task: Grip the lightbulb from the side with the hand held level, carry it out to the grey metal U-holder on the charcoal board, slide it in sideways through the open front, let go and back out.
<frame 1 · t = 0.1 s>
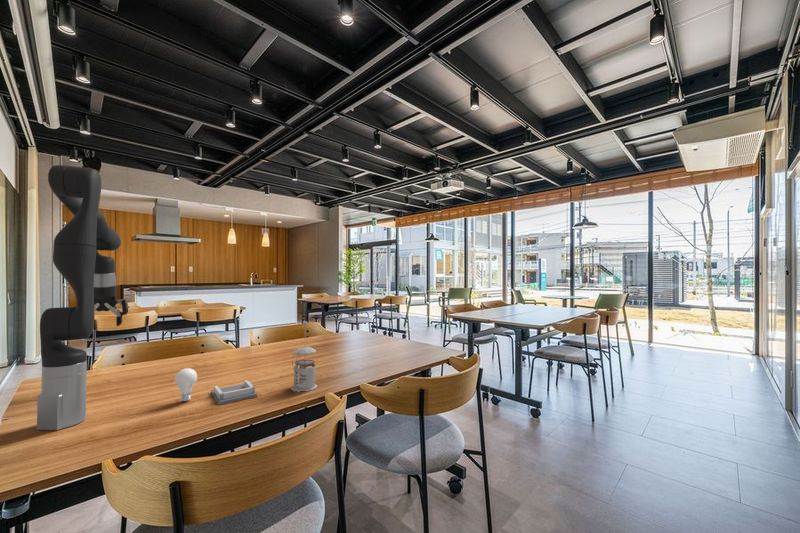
hand: (104, 326, 130), 23 cm above the table, tool pointing down, fingers open, 8 cm apart
french press: (303, 387, 129), on the table
lightbulb: (185, 401, 115), on the table
u holder: (233, 394, 121), on the table
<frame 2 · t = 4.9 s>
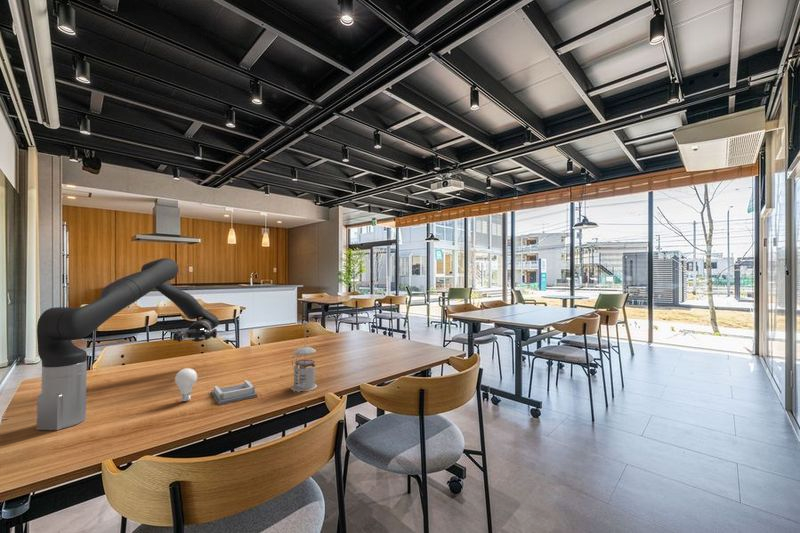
hand: (192, 338, 125), 19 cm above the table, tool horizontal, fingers open, 8 cm apart
nothing on the table moved.
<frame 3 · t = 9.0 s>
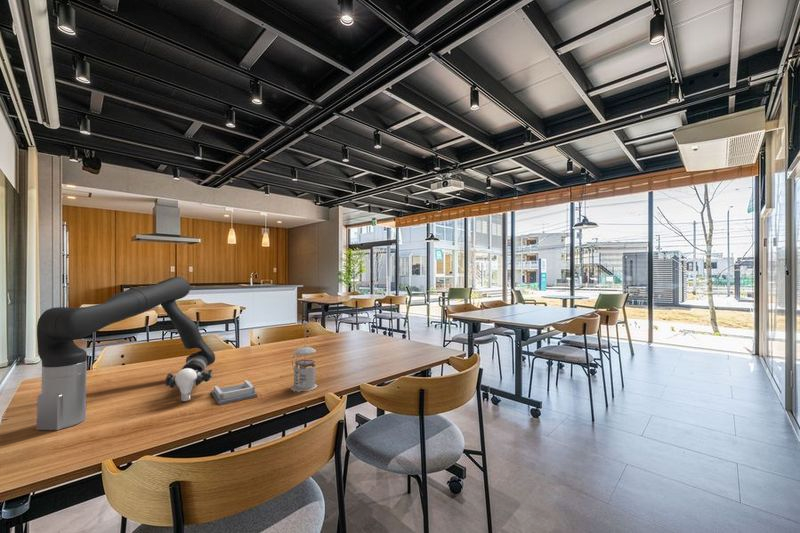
hand: (184, 384, 113), 7 cm above the table, tool horizontal, fingers closed on lightbulb, 6 cm apart
lightbulb: (185, 401, 115), on the table, touching gripper
everything else where it was.
when the fingers open (8 cm above the table, at t = 16.8 s): lightbulb stays where it is, resting on u holder.
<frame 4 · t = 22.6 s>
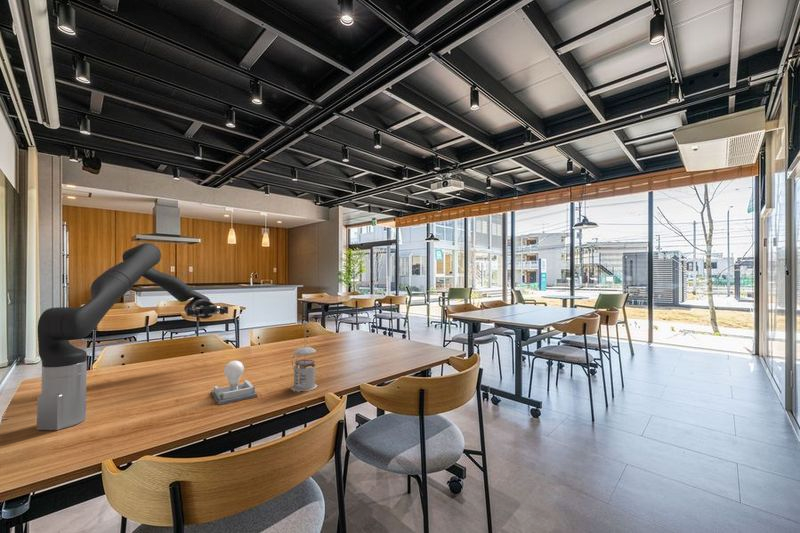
hand: (210, 312, 130), 28 cm above the table, tool horizontal, fingers open, 8 cm apart
lightbulb: (233, 392, 121), point 1 cm above the table, touching u holder
everything else where it was.
at the end: lightbulb 0.1 cm off-centre on the u holder, point 0.8 cm above the u holder's base; lightbulb tilted 0°; the gripper is holding nothing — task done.
